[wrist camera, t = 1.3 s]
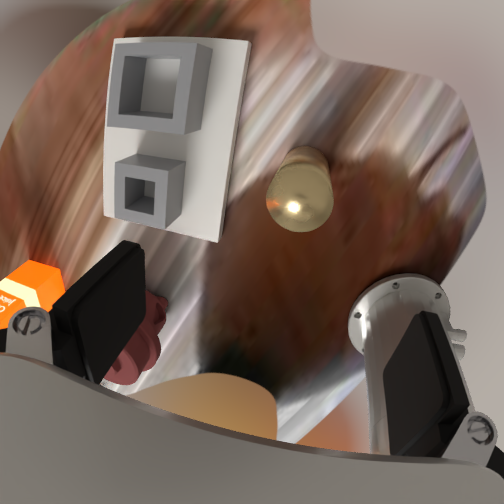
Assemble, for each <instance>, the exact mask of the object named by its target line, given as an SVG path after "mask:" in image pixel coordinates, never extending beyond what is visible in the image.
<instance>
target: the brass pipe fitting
mask: <svg viewBox="0 0 504 504" xmlns="http://www.w3.org/2000/svg"><path fill="white" fill-rule="evenodd" d="M266 200H267V207H268V210H269V212H270V214H271V216H272V218H273V219H274V220H275V221H276V222H277V223H278V224H279V225H281V226H282V227H284V228H286V229H288V230H291V231H295V232H307V231H311V230H314V229H316V228H318V227H319V226H321V225H322V224H323V223H324V222H325V221H326V220H327V219H328V217H329V216H330V214H331V211H332V208H333V192H332V185H331V178H330V172H329V165H328V162H327V159H326V158H325V156H324V155H323V154H322V153H321V152H320V151H319V150H317V149H316V148H313V147H310V146H300V147H297V148H294V149H293V150H291V151H290V152H289V153H288V154H287V155H286V157H285V158H284V160H283V162H282V164H281V166H280V167H279V169H278V171H277V173H276V175H275V177H274V178H273V180H272V182H271V184H270V186H269V188H268V191H267V197H266Z"/></svg>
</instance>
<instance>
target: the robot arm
mask: <svg viewBox="0 0 504 504" xmlns="http://www.w3.org/2000/svg"><path fill="white" fill-rule="evenodd" d="M395 282H396V283H395ZM145 315H146V293H145V253H144V250H143V249H141V247H140V245H139V244H138V243H134V242H130V241H126V240H123V241H122V242H120V243H119V244H118V245H117V246H116V247H115V248H114V249H112V250H111V251H110V252H109V253H108V254H107V255H105V256H104V257H103V258H102V259H101V260H100V261H99V262H98V263H96V264H95V265H94V266H93V267H92V268H91V269H90V270H89V271H88V272H86V273H85V274H84V275H83V276H82V277H81V278H80V279H79V280H78V281H77V282H76V283H75V284H73V285H72V286H71V287H70V288H69V289H68V290H67V291H66V292H65V293H64V294H63V295H62V296H61V297H60V298H59V299H58V300H57V301H56V302H55V303H53V304H52V309H51V310H50V311H49V312H47V311H46V310H45V309H43V308H41V307H36V306H30V307H26V308H22V309H20V310H18V311H17V312H16V313H14V314H13V315H12V317H11V318H10V320H9V323H8V328H3V329H0V504H504V453H503V452H502V451H501V450H500V449H499V448H498V447H496V446H495V444H496V441H497V437H498V436H497V430H496V427H495V424H494V423H493V421H492V420H491V419H490V418H489V417H488V416H487V415H485V414H483V413H481V412H475V409H474V406H473V403H472V400H471V396H470V393H469V390H468V387H467V384H466V381H465V378H464V375H463V372H462V369H461V366H460V363H459V361H458V360H461V359H462V358H463V357H464V354H465V347H464V346H463V345H459V344H452V342H451V339H452V340H455V341H460V342H463V341H465V339H466V336H467V333H466V331H465V330H460V329H453V328H452V326H451V324H450V322H449V318H450V305H449V301H448V298H447V296H446V294H445V292H444V290H443V289H442V288H441V286H440V285H439V284H438V283H436V282H435V281H434V280H432V279H430V278H428V277H426V276H423V275H419V274H410V273H405V274H397V275H393V276H390V277H386V278H384V279H382V280H380V281H378V282H376V283H374V284H373V285H371V286H370V287H368V288H367V289H366V290H365V291H364V292H363V293H362V294H361V295H360V296H359V297H358V298H357V300H356V301H355V303H354V304H353V306H352V308H351V311H350V314H349V318H348V330H349V337H350V339H351V342H352V344H353V345H354V346H355V348H356V349H357V350H358V351H359V352H360V353H361V354H363V355H364V360H365V371H366V383H367V399H368V417H369V439H370V454H367V453H356V452H347V451H338V450H330V449H323V448H316V447H310V446H304V445H298V444H292V443H287V442H282V441H277V440H272V439H267V438H262V437H257V436H253V435H249V434H245V433H241V432H236V431H232V430H229V429H225V428H221V427H217V426H213V425H210V424H207V423H203V422H200V421H197V420H193V419H190V418H187V417H183V416H180V415H177V414H174V413H171V412H168V411H165V410H162V409H159V408H157V407H153V406H151V405H148V404H145V403H142V402H140V401H137V400H135V399H132V398H130V397H127V396H125V395H122V394H120V393H117V392H115V391H112V390H110V389H107V388H105V387H102V386H100V385H98V384H100V382H101V381H102V380H103V378H104V377H105V375H106V374H107V372H108V371H109V369H110V368H111V366H112V365H113V363H114V362H115V360H116V359H117V357H118V356H119V355H120V353H121V352H122V350H123V349H124V347H125V346H126V344H127V343H128V342H129V340H130V339H131V337H132V336H133V334H134V333H135V332H136V330H137V329H138V327H139V326H140V324H141V323H142V322H143V320H144V318H145Z"/></svg>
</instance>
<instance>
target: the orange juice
mask: <svg viewBox="0 0 504 504" xmlns="http://www.w3.org/2000/svg"><path fill="white" fill-rule="evenodd" d="M64 293H65V290H64V286H63V281H62V277H61V273H60V269H57V268H54V267H51V266H48V265H44V264H41V263H38V262H35V261H31V260H28V261H27V262H25V263H24V264H23V265H22V266H20V267H19V268H18V269H16V270H15V271H14V272H12V273H11V274H10V275H9V276H7V277H6V278H4V279H3V280H2V281H0V329H3V328H8V323H9V320H10V318H11V317H12V315H13V314H14V313H16V312H17V311H18V310H20V309H22V308H26V307H30V306H36V307H41V308H43V309H45V310H46V311H47V312H49V311H50V310H51V309H52V304H53V303H55V302H56V301H57V300H58V299H59V298H60V297H61V296H62V295H63V294H64Z"/></svg>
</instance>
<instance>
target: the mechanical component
mask: <svg viewBox="0 0 504 504" xmlns="http://www.w3.org/2000/svg"><path fill="white" fill-rule="evenodd" d="M145 293H146V315H145V318H144V320H143V322H142V323H141V324H140V326H139V327H138V329H137V330H136V332H135V333H134V334H133V336H132V337H131V339H130V340H129V342H128V343H127V344H126V346H125V347H124V349H123V350H122V352H121V353H120V355H119V356H118V357H117V359H116V360H115V362H114V363H113V365H112V366H111V368H110V369H109V371H108V372H107V374H106V375H105V377H104V379H106V380H108V381H111V382H113V383H116V384H120V385H130V384H133V383H135V382H136V381H137V379H138V378H139V376H140V374H141V373H142V371H147V370H149V369H151V368H152V367H153V366H154V365H155V363H156V361H157V360H158V358H159V356H160V353H161V344H160V341H159V338H158V336H157V335H158V334H159V332H160V331H161V329H162V328H163V326H164V324H165V322H166V312H165V309H166V307H167V306H168V301H167V300H166V299H165V298H164V297H159V296H154V295H153V294H152V293H150V292H149V291H147V290H145Z"/></svg>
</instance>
